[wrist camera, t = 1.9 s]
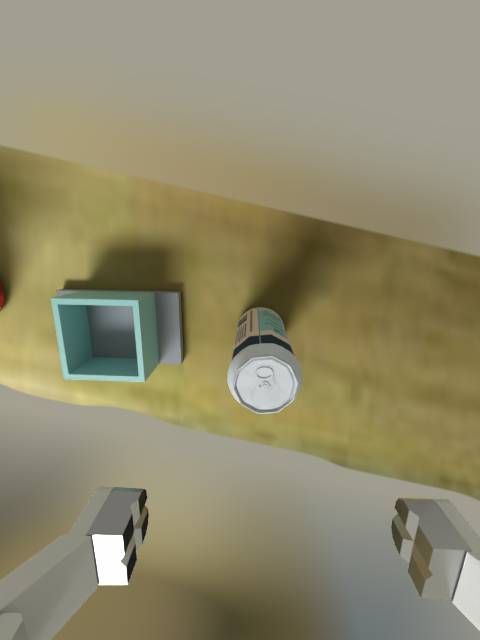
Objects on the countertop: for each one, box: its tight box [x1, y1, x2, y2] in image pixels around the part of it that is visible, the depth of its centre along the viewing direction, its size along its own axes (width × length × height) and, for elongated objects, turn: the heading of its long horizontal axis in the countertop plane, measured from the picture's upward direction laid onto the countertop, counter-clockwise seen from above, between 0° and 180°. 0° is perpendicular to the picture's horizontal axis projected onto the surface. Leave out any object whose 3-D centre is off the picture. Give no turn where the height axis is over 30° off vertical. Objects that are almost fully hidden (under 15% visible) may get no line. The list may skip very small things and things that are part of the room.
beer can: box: [227, 307, 302, 414], centre depth 23 cm, size 5×5×12 cm
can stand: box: [51, 289, 184, 382], centre depth 27 cm, size 12×7×5 cm, turn 89°
